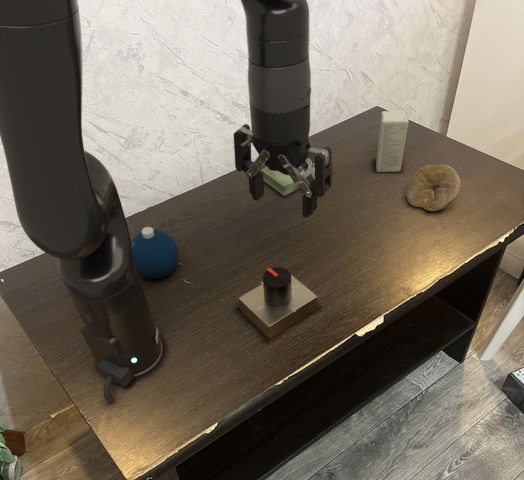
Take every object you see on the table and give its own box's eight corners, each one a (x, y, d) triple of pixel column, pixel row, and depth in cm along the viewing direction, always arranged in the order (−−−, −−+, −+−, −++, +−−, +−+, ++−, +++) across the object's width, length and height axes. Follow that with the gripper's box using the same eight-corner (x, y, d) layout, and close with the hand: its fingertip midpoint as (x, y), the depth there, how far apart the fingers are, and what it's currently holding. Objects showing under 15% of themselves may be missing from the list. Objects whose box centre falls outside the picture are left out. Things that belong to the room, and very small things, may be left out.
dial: (297, 297, 81) (297, 275, 77) (276, 311, 79) (275, 289, 75) (278, 283, 83) (278, 261, 79) (258, 296, 81) (257, 274, 77)
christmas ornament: (145, 253, 94) (132, 209, 86) (188, 259, 92) (178, 214, 84) (128, 285, 89) (112, 240, 81) (173, 291, 87) (161, 246, 79)
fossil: (416, 160, 98) (467, 165, 92) (423, 168, 102) (472, 174, 96) (400, 204, 99) (449, 213, 93) (407, 211, 103) (455, 220, 97)
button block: (284, 196, 102) (283, 178, 99) (261, 178, 107) (260, 161, 103) (328, 174, 106) (329, 157, 103) (304, 158, 111) (305, 141, 107)
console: (270, 340, 79) (269, 327, 77) (238, 309, 84) (237, 296, 81) (318, 310, 83) (318, 296, 80) (285, 282, 87) (284, 268, 85)
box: (399, 160, 108) (408, 110, 99) (400, 172, 106) (410, 121, 97) (374, 160, 109) (381, 110, 100) (375, 172, 106) (382, 121, 97)
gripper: (214, 95, 62) (229, 205, 75) (316, 121, 57) (313, 235, 69) (247, 70, 66) (256, 179, 78) (346, 93, 60) (338, 205, 73)
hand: (283, 205), depth 74 cm, fingers open, 8 cm apart
